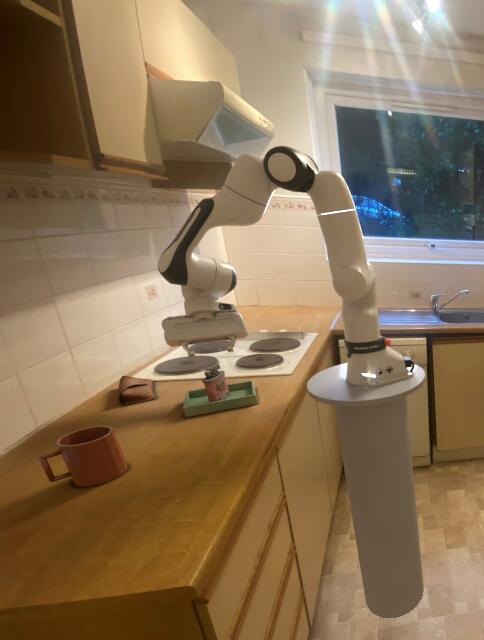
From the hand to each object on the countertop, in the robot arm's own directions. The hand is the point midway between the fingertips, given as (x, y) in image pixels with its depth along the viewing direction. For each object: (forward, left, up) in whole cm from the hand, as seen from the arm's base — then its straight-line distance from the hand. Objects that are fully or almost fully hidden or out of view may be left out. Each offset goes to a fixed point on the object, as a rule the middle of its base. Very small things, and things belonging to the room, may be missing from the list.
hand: (211, 353), depth 126 cm
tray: (0, +5, -13) cm, 14 cm away
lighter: (+1, +5, -13) cm, 14 cm away
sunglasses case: (+22, -15, -14) cm, 30 cm away
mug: (+23, +35, -13) cm, 44 cm away
